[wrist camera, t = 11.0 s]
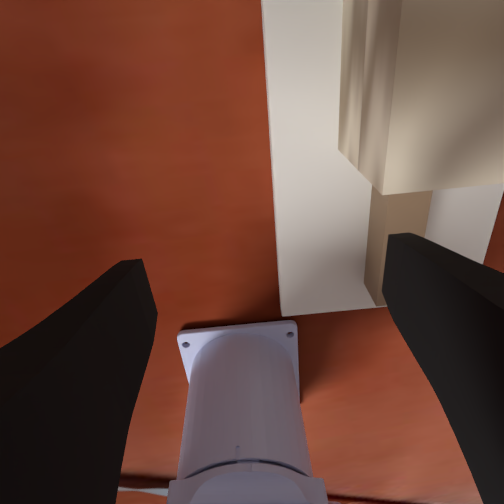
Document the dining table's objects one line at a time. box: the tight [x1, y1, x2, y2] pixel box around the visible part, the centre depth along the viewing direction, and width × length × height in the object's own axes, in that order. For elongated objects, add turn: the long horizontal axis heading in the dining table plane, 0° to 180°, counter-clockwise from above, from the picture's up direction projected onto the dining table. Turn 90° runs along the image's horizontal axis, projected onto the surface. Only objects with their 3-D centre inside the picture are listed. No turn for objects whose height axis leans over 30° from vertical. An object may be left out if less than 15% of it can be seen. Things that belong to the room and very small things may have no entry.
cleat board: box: [261, 0, 504, 317], centre depth 16 cm, size 20×12×5 cm, turn 5°
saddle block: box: [338, 0, 504, 195], centre depth 13 cm, size 8×6×6 cm
